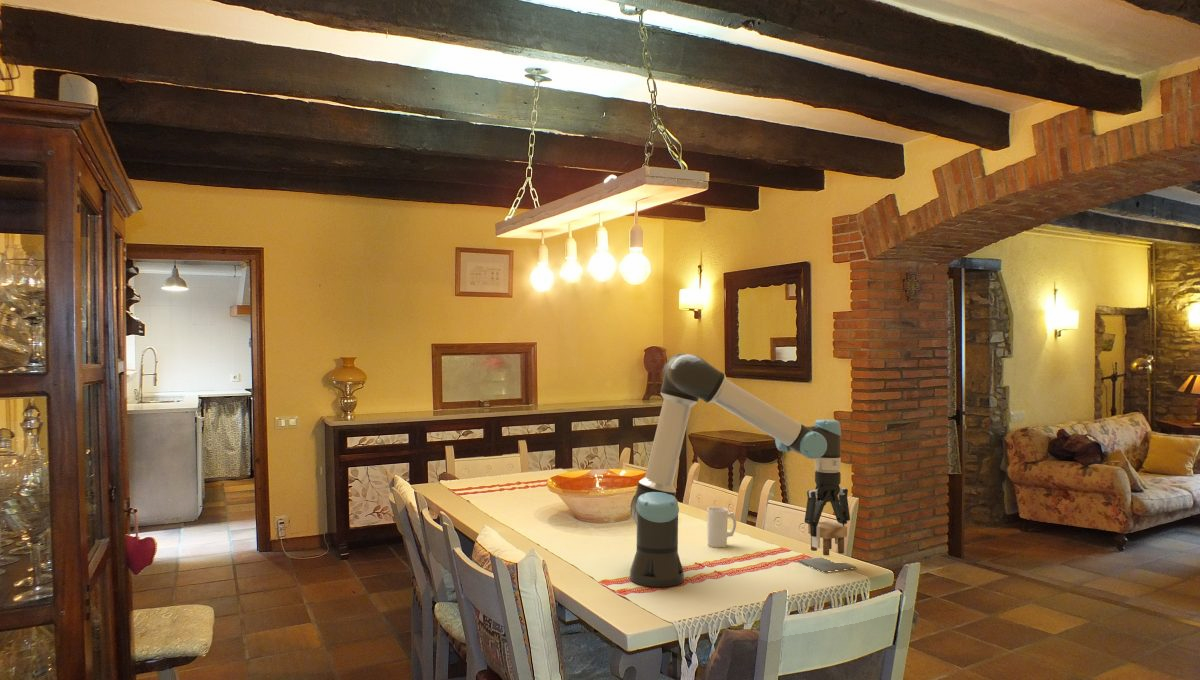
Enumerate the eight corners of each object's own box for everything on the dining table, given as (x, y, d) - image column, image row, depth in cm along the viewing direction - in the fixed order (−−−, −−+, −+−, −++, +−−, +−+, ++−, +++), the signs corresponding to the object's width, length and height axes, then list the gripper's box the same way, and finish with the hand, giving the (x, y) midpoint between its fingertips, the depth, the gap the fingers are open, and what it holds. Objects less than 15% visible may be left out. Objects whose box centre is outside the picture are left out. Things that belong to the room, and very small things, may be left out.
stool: (825, 556, 225) (825, 529, 225) (808, 549, 233) (808, 523, 233) (846, 553, 228) (847, 526, 229) (829, 547, 236) (829, 521, 236)
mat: (824, 572, 223) (824, 570, 223) (798, 562, 234) (798, 560, 234) (856, 568, 227) (856, 566, 227) (829, 558, 238) (829, 556, 238)
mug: (710, 548, 249) (711, 511, 249) (704, 543, 255) (704, 507, 256) (739, 547, 251) (740, 510, 251) (732, 542, 257) (732, 506, 258)
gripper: (807, 474, 223) (807, 552, 223) (863, 470, 232) (863, 545, 231) (791, 470, 230) (791, 546, 230) (846, 467, 238) (845, 539, 238)
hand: (827, 545), depth 231 cm, fingers closed on stool, 8 cm apart
